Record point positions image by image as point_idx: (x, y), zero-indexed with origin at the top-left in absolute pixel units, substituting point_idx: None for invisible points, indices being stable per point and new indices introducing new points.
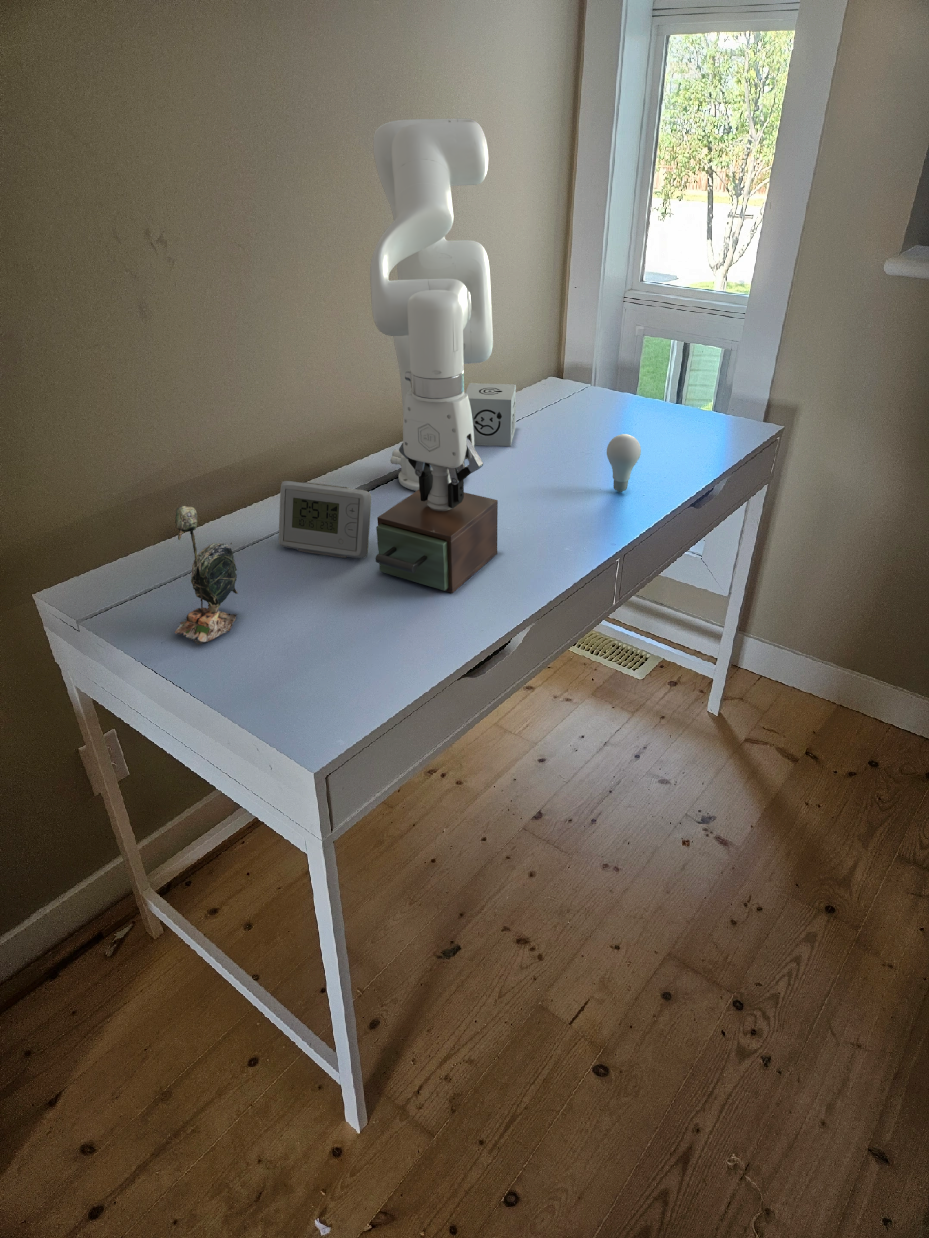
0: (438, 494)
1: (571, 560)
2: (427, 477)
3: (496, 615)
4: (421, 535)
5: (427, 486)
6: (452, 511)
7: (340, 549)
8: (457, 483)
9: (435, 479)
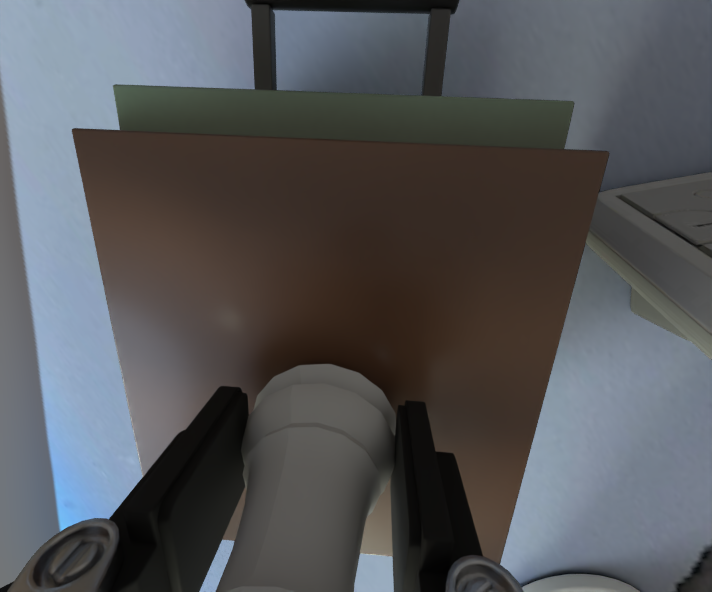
0: (291, 437)
1: (93, 422)
2: (403, 567)
3: (63, 106)
4: (274, 128)
5: (399, 493)
6: (248, 387)
7: (682, 184)
8: (61, 535)
9: (296, 549)
